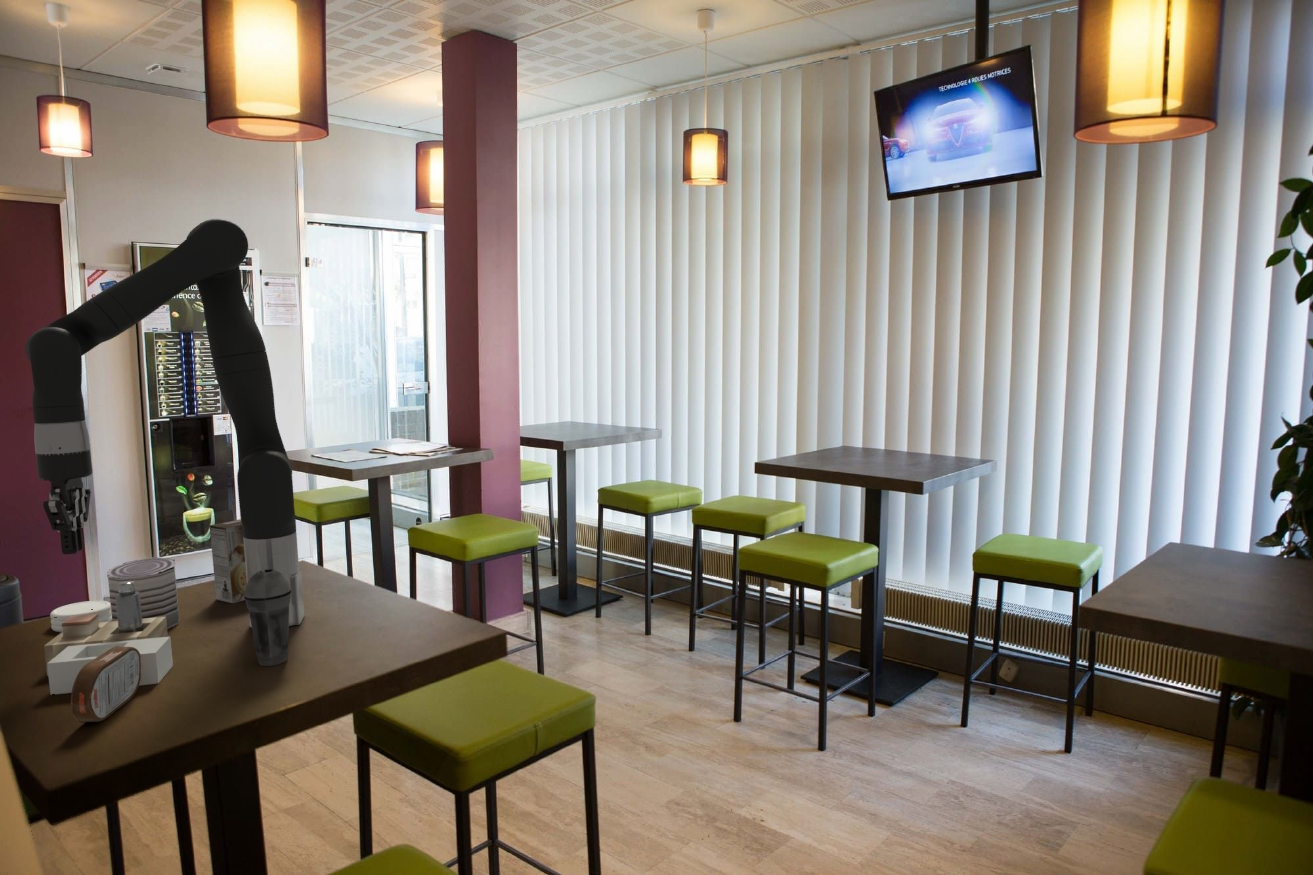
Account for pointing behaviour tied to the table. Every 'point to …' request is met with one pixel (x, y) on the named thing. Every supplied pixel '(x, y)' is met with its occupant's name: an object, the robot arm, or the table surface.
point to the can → (148, 587)
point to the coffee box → (228, 561)
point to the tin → (106, 684)
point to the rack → (75, 657)
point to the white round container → (80, 612)
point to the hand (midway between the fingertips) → (73, 551)
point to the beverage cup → (269, 614)
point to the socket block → (107, 636)
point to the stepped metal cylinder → (128, 608)
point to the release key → (80, 626)
